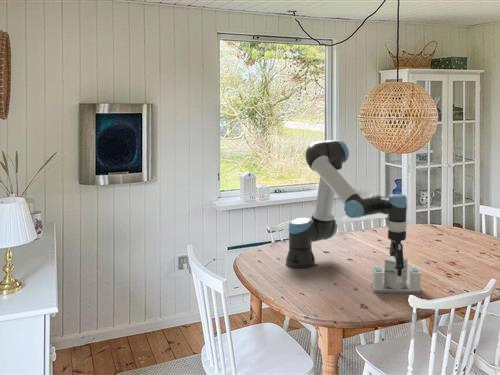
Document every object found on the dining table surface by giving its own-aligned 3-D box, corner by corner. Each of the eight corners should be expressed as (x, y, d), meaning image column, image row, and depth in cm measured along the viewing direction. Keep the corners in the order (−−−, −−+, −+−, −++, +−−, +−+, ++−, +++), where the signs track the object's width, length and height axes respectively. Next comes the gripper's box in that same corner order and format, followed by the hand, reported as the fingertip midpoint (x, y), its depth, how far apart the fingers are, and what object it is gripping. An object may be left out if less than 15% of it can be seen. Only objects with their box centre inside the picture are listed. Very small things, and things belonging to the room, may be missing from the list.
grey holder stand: (373, 292, 204) (374, 272, 202) (371, 285, 213) (371, 265, 211) (421, 293, 201) (422, 272, 200) (416, 285, 210) (417, 265, 208)
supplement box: (383, 286, 207) (383, 259, 205) (391, 281, 212) (392, 255, 210) (398, 290, 202) (399, 262, 200) (407, 285, 207) (408, 258, 205)
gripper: (383, 222, 215) (382, 267, 219) (393, 238, 191) (392, 287, 194) (400, 223, 214) (399, 267, 218) (412, 238, 190) (410, 287, 193)
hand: (395, 277), depth 206 cm, fingers open, 13 cm apart
